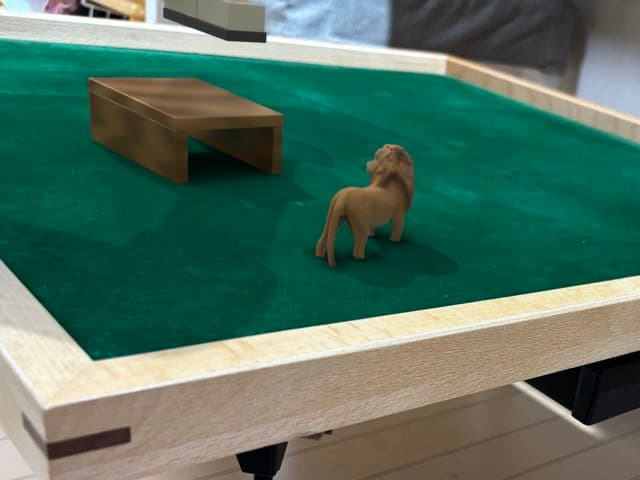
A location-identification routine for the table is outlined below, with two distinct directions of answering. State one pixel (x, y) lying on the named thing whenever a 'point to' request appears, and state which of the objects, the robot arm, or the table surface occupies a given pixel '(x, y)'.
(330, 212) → the lion figurine
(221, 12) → the grey stepped block
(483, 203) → the table surface
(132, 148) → the low wooden table
